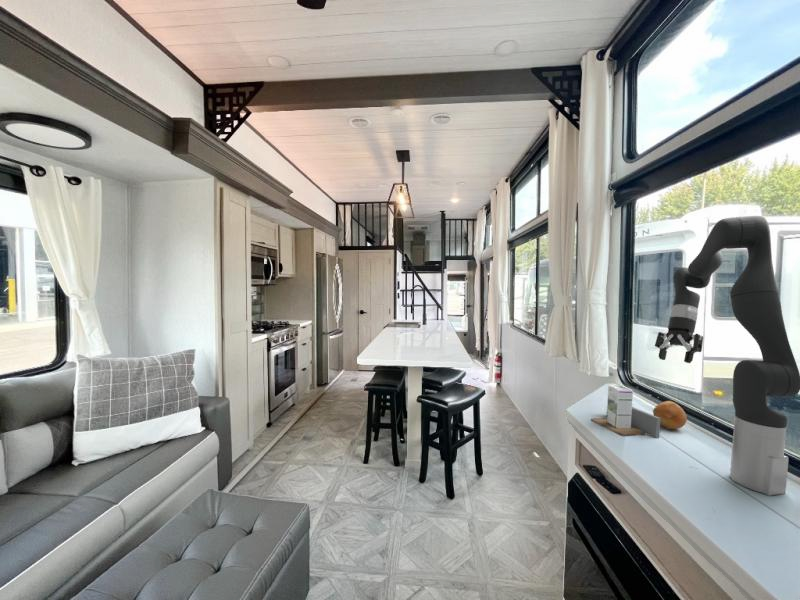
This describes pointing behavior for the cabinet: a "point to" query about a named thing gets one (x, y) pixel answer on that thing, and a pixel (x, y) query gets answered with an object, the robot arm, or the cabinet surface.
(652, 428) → the grey barrier panel
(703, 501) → the cabinet surface
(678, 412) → the onion
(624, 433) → the walnut pad
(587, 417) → the cabinet surface
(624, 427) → the syrup box
